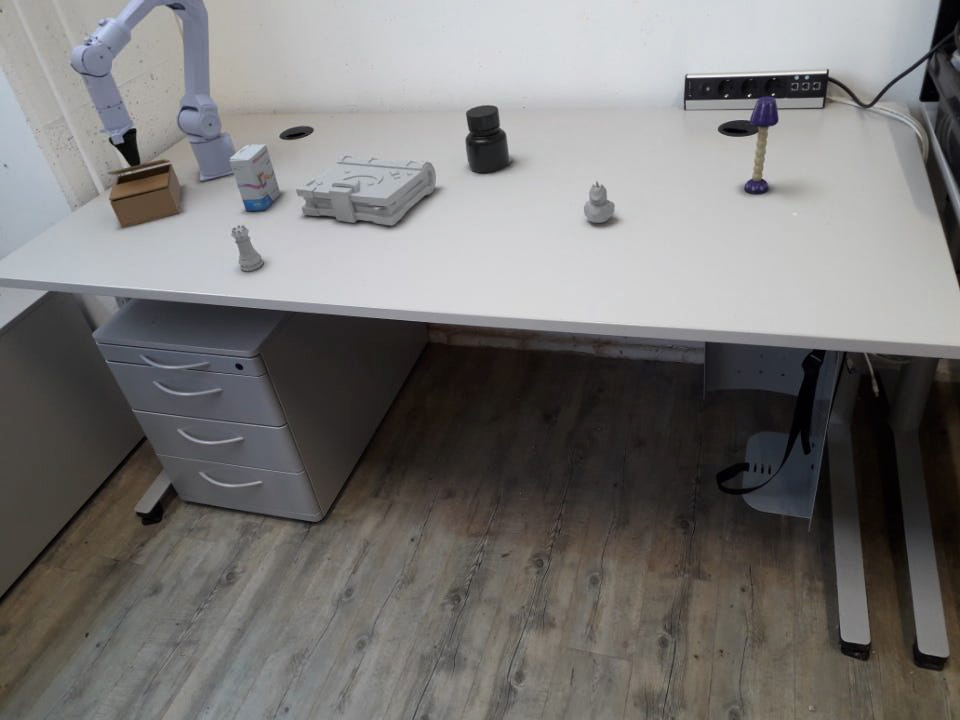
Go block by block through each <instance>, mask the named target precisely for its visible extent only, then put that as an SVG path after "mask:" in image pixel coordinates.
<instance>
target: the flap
mask: <svg viewBox="0 0 960 720" xmlns="http://www.w3.org/2000/svg"><path fill="white" fill-rule="evenodd" d="M169 163H171V160H169V159H165V158H163V159H158V160H154V161H150V162H146V163H140V165H137V166H132V167H131V166H128V167H125V168H120V169H116V170H112V171H108V172H107V175H111V176H118V175H124V174H126V173H127V174H128V173H132V172H136V171H140V170H144V169H149V168H151V167H152V168H153V167H157V166H161V165H165V164H169Z"/></svg>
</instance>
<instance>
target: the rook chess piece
mask: <svg viewBox="0 0 960 720" xmlns="http://www.w3.org/2000/svg"><path fill="white" fill-rule="evenodd" d="M249 232H250V230H249V228H246V225H244V224H241V225H239V224H238V225H236V226H233V227H232V229H231V237H233V238H234V239H235V241H234V243H235V244H236V246H237V247H238V253H239V256H238V265H239V269H241V270H242V271H244V272H252V271H256V270H259V269H260V268H261V267H262V265H263V264H264V259H263V258H262V255H261V254H260V253H259V252H258V251H257V249H255V247H254V246H253V244H252V242H251V237H250V236H249Z"/></svg>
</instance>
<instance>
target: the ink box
mask: <svg viewBox="0 0 960 720" xmlns="http://www.w3.org/2000/svg"><path fill="white" fill-rule="evenodd" d="M230 159H231V160H230V164H231V167H232V170H233V176H234V180H235V182H236V185H237V189H238V192H239V194H240V197H241V200H242V204H243V205H244V209H245V211H246V212H253V211H254V212H255V211H266V210H267V209H268V208H269V207H270V206H271V205H272V204H273V203H274V201H276V199H278V197H279V196H280V195H281V190H280V187H279V184H278V180H277V177H276V173H275V170H274V167H273V164H272V160H271V157H270V154H269V150H268V146H267V144H245V145H243V147H241V149H239V150H238V151H237V152H236V154H234V155H233V156H232V157H231V158H230Z"/></svg>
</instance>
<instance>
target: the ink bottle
mask: <svg viewBox="0 0 960 720" xmlns="http://www.w3.org/2000/svg"><path fill="white" fill-rule="evenodd" d="M465 117H466V123H467V129H468V131H469V132H468V134H467V135H466V136H465V140H464V141H465V142H464V143H465V150H466V157H467V162H468V166H469V168H470V170H471V171H473V172H476V173H481V174H482V173H487V174H488V173H493V172H495V171H496V172H497V171H499V170H502V169H504V168H506V167H507V166H508V165H509V164H510V152H509V146H508V145H509V144H508V137H507V133H506V131H505V130H503V128H501V120H500V112H499V108H498V106H496V105H490V104H486V105H483V104H482V105H479V106H474V107H471V108H470V109H468V110H466V112H465Z"/></svg>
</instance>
